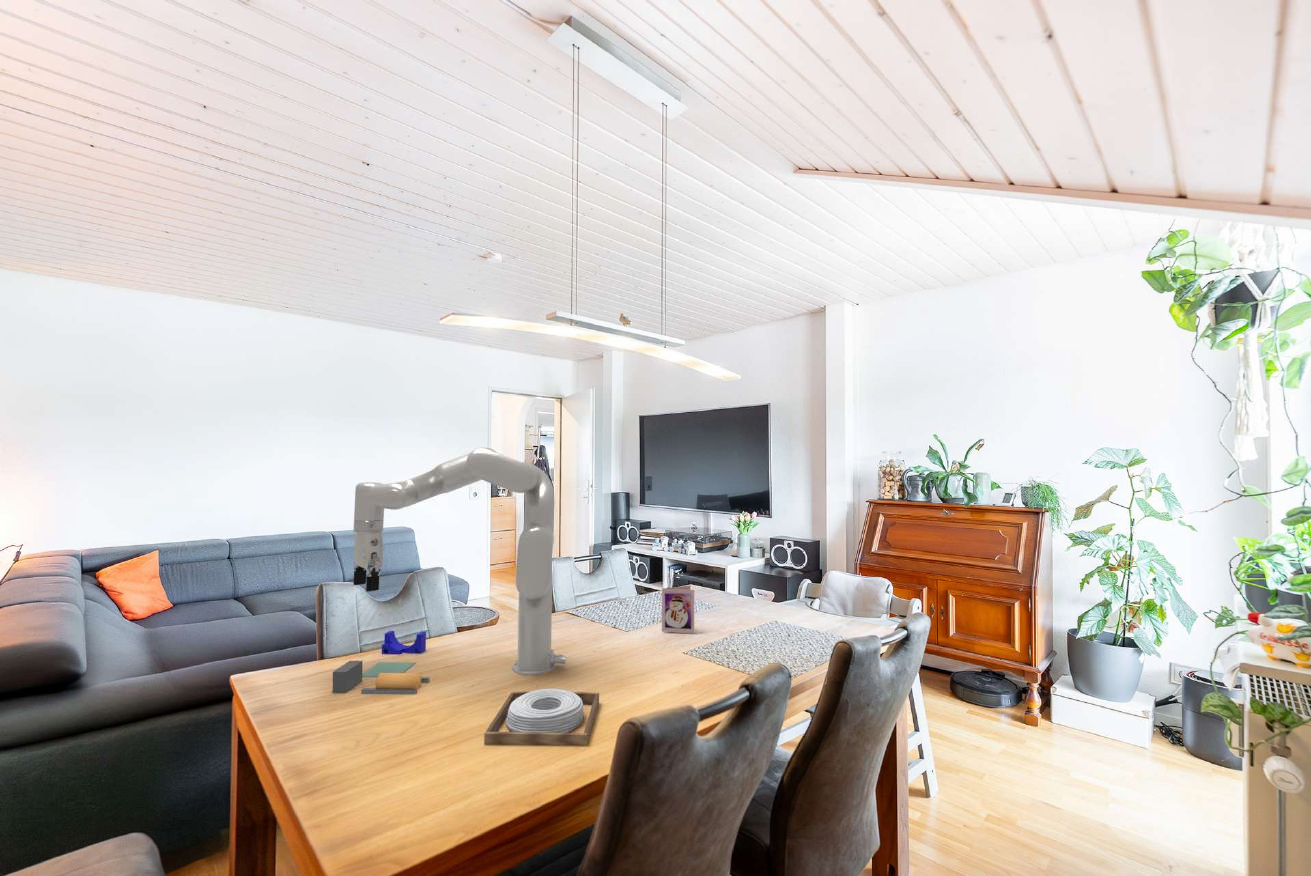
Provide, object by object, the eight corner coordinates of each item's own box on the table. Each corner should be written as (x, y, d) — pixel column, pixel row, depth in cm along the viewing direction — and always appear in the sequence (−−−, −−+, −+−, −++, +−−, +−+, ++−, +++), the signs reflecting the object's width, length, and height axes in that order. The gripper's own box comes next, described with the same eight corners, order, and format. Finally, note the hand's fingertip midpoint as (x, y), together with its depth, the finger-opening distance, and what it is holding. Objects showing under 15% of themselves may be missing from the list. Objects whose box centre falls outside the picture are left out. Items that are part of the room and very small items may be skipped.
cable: (547, 754, 121) (547, 724, 121) (488, 732, 130) (489, 705, 130) (598, 721, 136) (598, 695, 136) (542, 704, 145) (543, 679, 145)
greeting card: (661, 632, 203) (661, 589, 203) (664, 626, 210) (664, 584, 210) (694, 634, 201) (694, 590, 201) (696, 627, 208) (696, 585, 208)
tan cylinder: (422, 683, 155) (419, 669, 154) (415, 695, 151) (412, 681, 149) (385, 682, 155) (382, 669, 154) (377, 695, 151) (374, 681, 149)
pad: (415, 663, 172) (415, 662, 172) (398, 678, 161) (398, 676, 161) (378, 663, 172) (378, 661, 172) (359, 677, 161) (359, 676, 161)
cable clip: (381, 654, 180) (381, 635, 180) (389, 649, 184) (389, 630, 184) (418, 655, 179) (418, 636, 179) (425, 651, 183) (425, 631, 183)
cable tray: (599, 706, 143) (599, 692, 143) (586, 751, 121) (586, 734, 121) (511, 705, 143) (512, 691, 143) (484, 750, 122) (484, 733, 122)
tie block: (362, 683, 157) (362, 660, 157) (345, 695, 149) (346, 671, 149) (349, 682, 157) (349, 660, 157) (332, 695, 149) (332, 671, 150)
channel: (429, 682, 157) (429, 677, 157) (415, 696, 148) (415, 690, 148) (378, 682, 158) (378, 676, 158) (361, 695, 149) (361, 689, 149)
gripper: (394, 528, 160) (391, 591, 159) (371, 522, 172) (368, 580, 171) (365, 530, 154) (362, 595, 154) (343, 524, 167) (341, 583, 166)
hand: (365, 587), depth 163 cm, fingers open, 9 cm apart
